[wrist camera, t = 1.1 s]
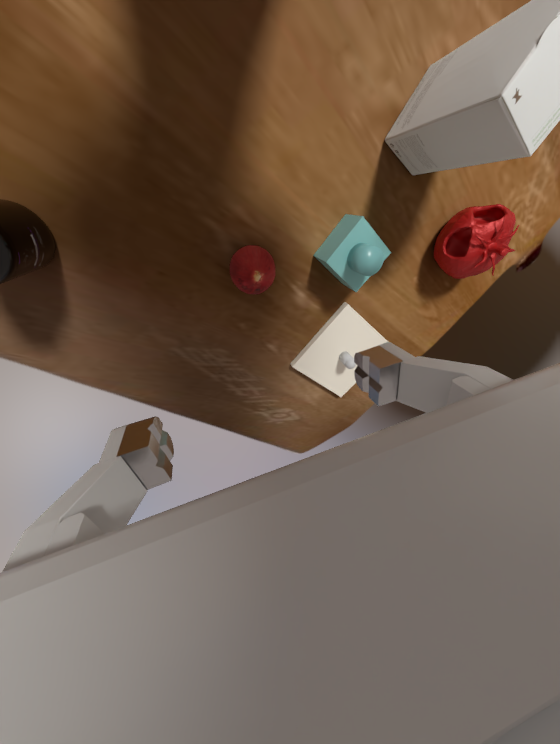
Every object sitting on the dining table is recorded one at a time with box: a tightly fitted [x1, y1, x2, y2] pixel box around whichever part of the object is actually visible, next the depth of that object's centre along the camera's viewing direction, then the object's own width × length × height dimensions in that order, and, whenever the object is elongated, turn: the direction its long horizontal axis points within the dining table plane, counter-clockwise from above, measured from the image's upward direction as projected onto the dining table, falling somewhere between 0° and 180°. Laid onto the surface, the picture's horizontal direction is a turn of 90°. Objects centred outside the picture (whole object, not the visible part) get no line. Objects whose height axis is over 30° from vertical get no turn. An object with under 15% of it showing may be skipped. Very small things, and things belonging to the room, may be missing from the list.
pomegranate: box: [434, 204, 519, 279], centre depth 37 cm, size 10×10×9 cm
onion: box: [230, 245, 275, 294], centre depth 33 cm, size 6×6×8 cm
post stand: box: [290, 302, 388, 397], centre depth 46 cm, size 14×14×5 cm
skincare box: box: [385, 0, 560, 175], centre depth 25 cm, size 8×7×16 cm
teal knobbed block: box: [313, 214, 391, 292], centre depth 35 cm, size 7×7×8 cm
